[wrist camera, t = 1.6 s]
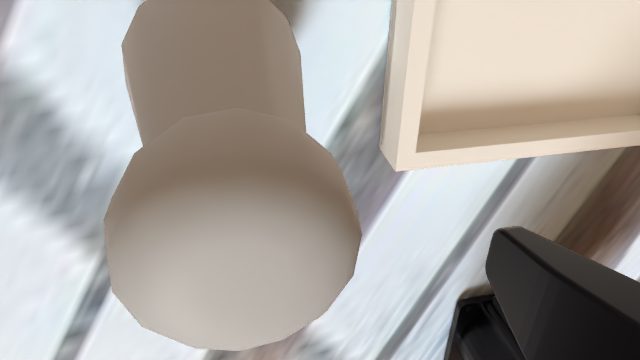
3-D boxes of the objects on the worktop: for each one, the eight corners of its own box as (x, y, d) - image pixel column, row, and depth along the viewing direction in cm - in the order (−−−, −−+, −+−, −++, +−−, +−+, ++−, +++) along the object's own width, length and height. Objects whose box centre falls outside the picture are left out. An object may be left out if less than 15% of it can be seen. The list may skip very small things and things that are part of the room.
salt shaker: (243, 139, 21) (302, 426, 10) (106, 78, 18) (-21, 375, 7) (315, 16, 19) (488, 206, 8) (171, -73, 16) (132, 27, 5)
